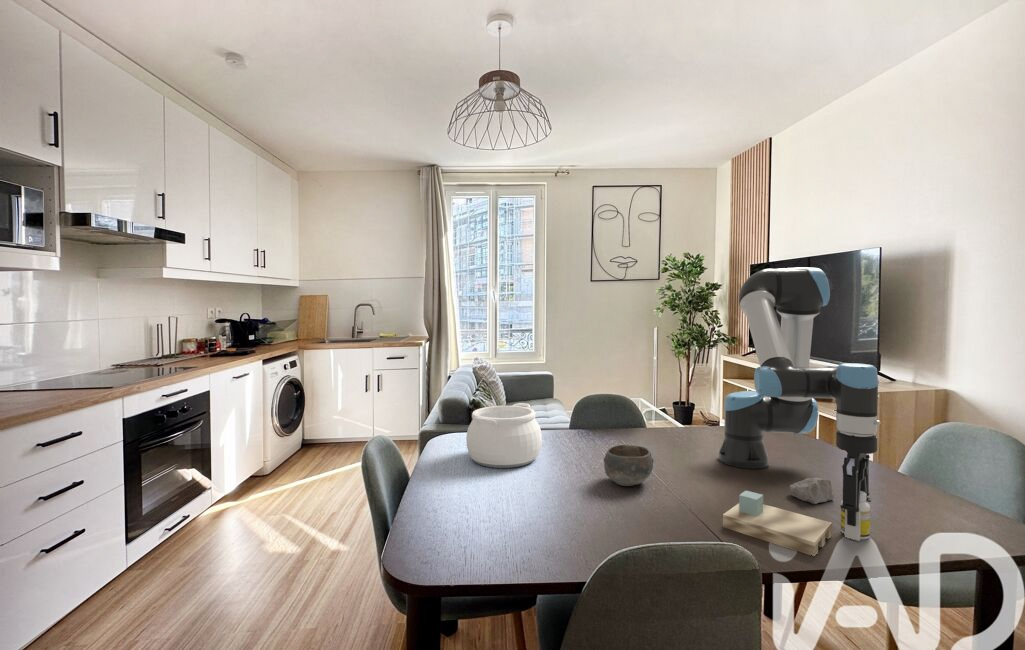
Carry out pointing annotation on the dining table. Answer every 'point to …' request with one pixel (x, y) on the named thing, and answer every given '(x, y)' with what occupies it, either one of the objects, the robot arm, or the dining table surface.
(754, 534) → the pallet
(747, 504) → the pale blue cube
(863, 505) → the supplement bottle
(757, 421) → the robot arm
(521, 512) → the dining table surface
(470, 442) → the pot
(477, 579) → the dining table surface
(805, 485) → the stone
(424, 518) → the dining table surface
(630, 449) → the bowl
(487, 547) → the dining table surface
